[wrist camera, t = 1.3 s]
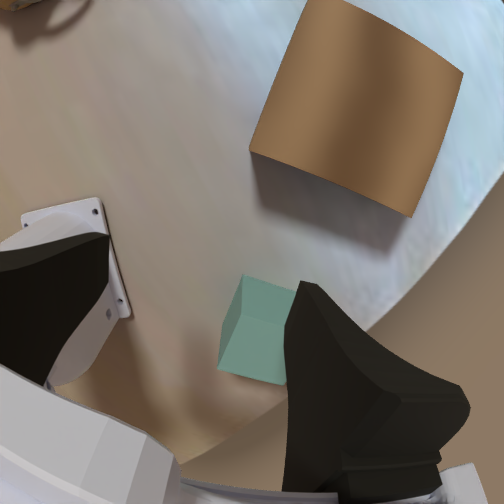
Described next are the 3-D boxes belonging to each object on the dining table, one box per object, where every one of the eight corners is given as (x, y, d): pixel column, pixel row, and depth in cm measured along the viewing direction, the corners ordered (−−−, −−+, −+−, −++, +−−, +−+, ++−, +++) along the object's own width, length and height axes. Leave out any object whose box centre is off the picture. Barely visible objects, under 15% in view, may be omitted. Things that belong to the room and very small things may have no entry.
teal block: (302, 293, 22) (314, 335, 18) (278, 340, 24) (283, 385, 19) (243, 274, 22) (241, 313, 17) (222, 324, 23) (216, 369, 19)
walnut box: (431, 78, 16) (463, 73, 13) (385, 201, 20) (411, 218, 16) (302, 11, 15) (313, -12, 11) (249, 146, 19) (248, 150, 15)
